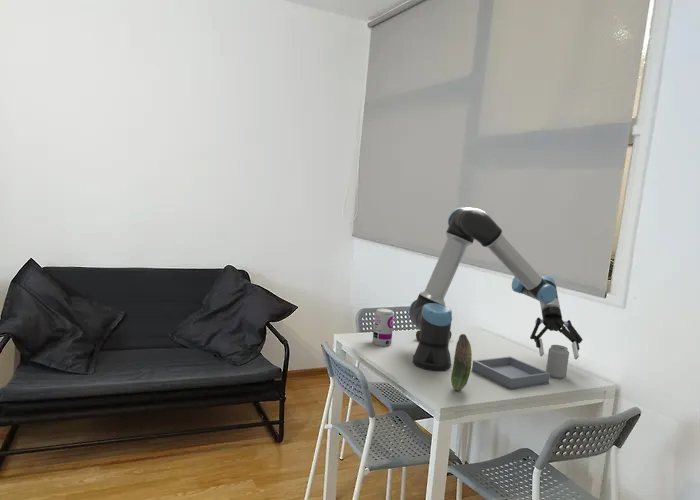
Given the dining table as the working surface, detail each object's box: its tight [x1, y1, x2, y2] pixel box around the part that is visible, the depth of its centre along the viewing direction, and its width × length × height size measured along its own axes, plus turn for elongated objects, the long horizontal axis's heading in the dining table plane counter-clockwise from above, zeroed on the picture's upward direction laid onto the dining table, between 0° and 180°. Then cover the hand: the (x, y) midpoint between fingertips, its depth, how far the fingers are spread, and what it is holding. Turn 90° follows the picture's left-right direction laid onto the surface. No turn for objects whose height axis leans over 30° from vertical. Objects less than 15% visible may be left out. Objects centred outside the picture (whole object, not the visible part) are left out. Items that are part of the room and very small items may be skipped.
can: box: [545, 344, 570, 380], centre depth 203 cm, size 8×8×12 cm
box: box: [471, 355, 551, 390], centre depth 198 cm, size 20×20×4 cm
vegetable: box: [450, 333, 473, 392], centre depth 179 cm, size 6×6×20 cm
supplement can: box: [372, 307, 395, 347], centre depth 227 cm, size 8×8×15 cm
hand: (559, 356), depth 205 cm, fingers open, 13 cm apart
